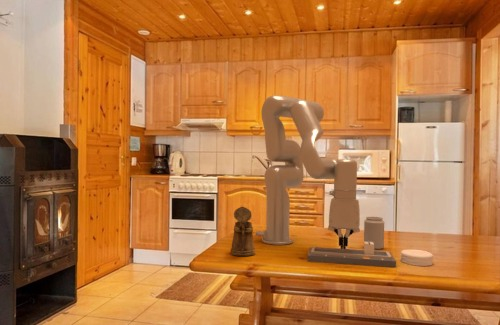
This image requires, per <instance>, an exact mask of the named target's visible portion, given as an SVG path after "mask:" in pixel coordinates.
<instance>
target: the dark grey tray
mask: <svg viewBox="0 0 500 325" xmlns="http://www.w3.org/2000/svg"><path fill="white" fill-rule="evenodd" d="M392 254H393V253H391V252H390V251H388V250H386V251H385V250H374V255H364V249H358V248H357V249H356V248H346V249H341V247H340V248H339V247H325V246H324V247H321V246H309V249H308V252H307V262H315V263H324V264H325V263H328V264H339V265H340V264H342V265H354V266H369V267H382V268H395V267H396V268H397V260H396V259H395V257H394V256H393V255H392Z"/></svg>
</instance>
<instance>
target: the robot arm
mask: <svg viewBox="0 0 500 325" xmlns="http://www.w3.org/2000/svg"><path fill="white" fill-rule="evenodd" d="M261 106H262V107H261V111H260V112H261V121H262V124H263V125H262V126H263V130H264V141H265V142H264V143H265V152H266V157H267V159H268V160H269V161H270V162H273V163H284V164H274V165H271V166H270V167H268V168H266V170H265V171H264V182H265V183H264V184H265V192H266V212H265V214H266V216H265V217H266V222H265V224H266V225H265V230H263V231H262V230H256V231H255V236H258V237H262V238H261V241H262V242H263V243H264V244H268V245H275V246H281V245H282V246H283V245H290V244H293V242H294V239H293V238H291V237H290V208H291V207H290V204H291V203H290V200H291V199H290V194H289V193H288V190H287V189H292V188H293V189H294V188H298V187H300V186H301V185H302V184H303V182H304V177H305V176H304V174H305V173H304V168H305V170H306V173H307V174H308V175H309V176H310V177H311V178H312V179H314V180H333V190H330V191H329V196H332V197H333V198H331V200H330V204H329V214H328V227H327V230H328V231H330V232H334V233H335V235H337V236H338V247H340V248H341V249H347V248H346V247H348V246H349V237H350V236H351V235H352V234H356V233H360V232H361V230H360V222H361V221H360V218H361V217H360V216H361V215H360V213H361V212H360V204H359V203H360V202H359V199H357V187H358V186H357V181H358V163H357V161H356V160H355V159H347V158H346V159H345V158H344V159H342V158H341V159H338V158H333V157H320V155H319V154H318V151H317V149H316V142H317V141H319V140H320V139H321V138H322V137H323V135H324V130H323V127H322V125H321V124H320V122H321V121H322V120H323V119H324V116H325V111H324V108H323V106H322V104H320V103H319V102H317V101H312V100H307V99H303V98H298V97H292V96H286V95H279V94H274V95H273V94H272V95H270V96H268V97H266V98H265V99H264V102H263V103H262V105H261ZM281 117H282V118H291V119H292V121H293V123H294V125H295V127H296V129H297V132H298V133H299V136H300V138H301V144H299V143H298V142H297V141H295V140H292V139H287V137H286V130H285V126H284V124H283V122H282V120H281V119H280V118H281ZM342 230H345V234H343V233H342ZM343 235H344V236H343Z"/></svg>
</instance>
